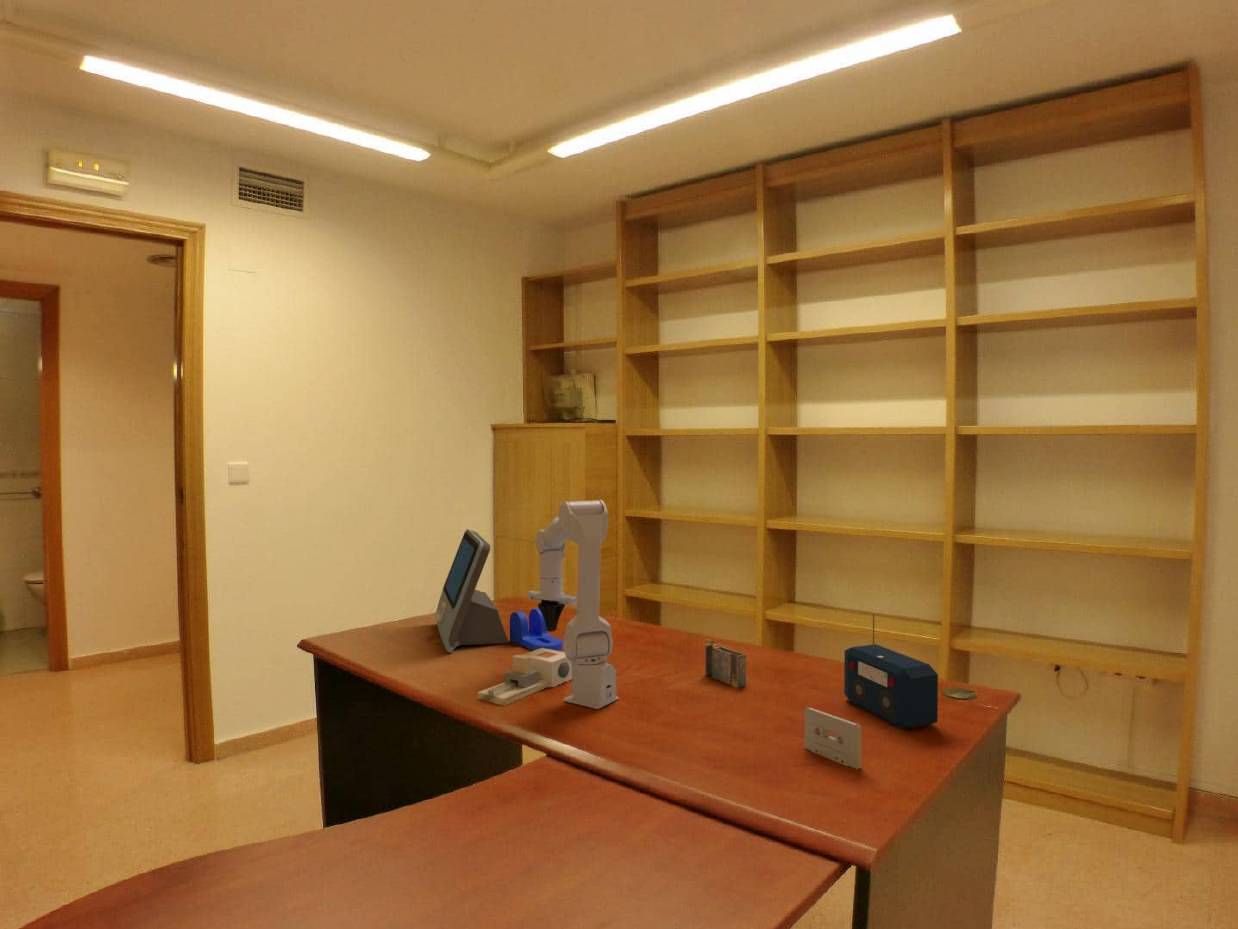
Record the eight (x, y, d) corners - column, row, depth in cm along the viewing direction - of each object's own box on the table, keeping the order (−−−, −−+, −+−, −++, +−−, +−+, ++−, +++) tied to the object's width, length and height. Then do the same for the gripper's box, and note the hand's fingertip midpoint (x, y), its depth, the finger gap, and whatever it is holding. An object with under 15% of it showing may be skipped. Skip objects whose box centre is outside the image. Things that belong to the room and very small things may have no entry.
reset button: (555, 663, 187) (555, 654, 187) (547, 666, 184) (547, 657, 184) (546, 661, 188) (545, 653, 188) (537, 664, 186) (537, 656, 186)
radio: (839, 700, 171) (839, 610, 170) (871, 695, 174) (872, 606, 173) (905, 734, 151) (906, 632, 150) (941, 728, 154) (941, 628, 153)
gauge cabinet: (575, 679, 187) (574, 654, 186) (553, 688, 180) (553, 662, 180) (541, 671, 193) (541, 647, 192) (520, 680, 186) (519, 655, 186)
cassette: (802, 748, 145) (802, 708, 144) (808, 746, 146) (808, 705, 146) (856, 770, 135) (856, 727, 135) (863, 768, 136) (863, 724, 136)
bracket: (509, 641, 222) (509, 610, 222) (535, 636, 227) (534, 606, 227) (542, 655, 208) (541, 622, 207) (568, 650, 212) (568, 617, 212)
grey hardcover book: (704, 677, 189) (703, 637, 188) (713, 675, 190) (713, 635, 190) (736, 689, 179) (736, 648, 179) (745, 687, 181) (745, 645, 181)
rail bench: (549, 687, 181) (549, 680, 181) (504, 705, 169) (504, 699, 169) (523, 681, 186) (523, 674, 185) (478, 699, 173) (477, 692, 173)
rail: (538, 678, 183) (538, 674, 183) (493, 696, 170) (493, 691, 170) (533, 677, 184) (533, 673, 184) (488, 695, 171) (488, 690, 171)
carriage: (538, 682, 179) (538, 656, 179) (524, 687, 175) (523, 661, 175) (519, 677, 183) (518, 652, 183) (504, 683, 179) (504, 657, 178)
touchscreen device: (430, 624, 241) (432, 528, 241) (493, 621, 247) (495, 527, 246) (439, 655, 208) (441, 543, 207) (512, 650, 214) (514, 542, 213)
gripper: (583, 577, 194) (584, 631, 195) (539, 571, 202) (540, 623, 203) (566, 581, 188) (566, 637, 189) (521, 576, 197) (522, 629, 197)
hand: (551, 630), depth 196 cm, fingers closed
